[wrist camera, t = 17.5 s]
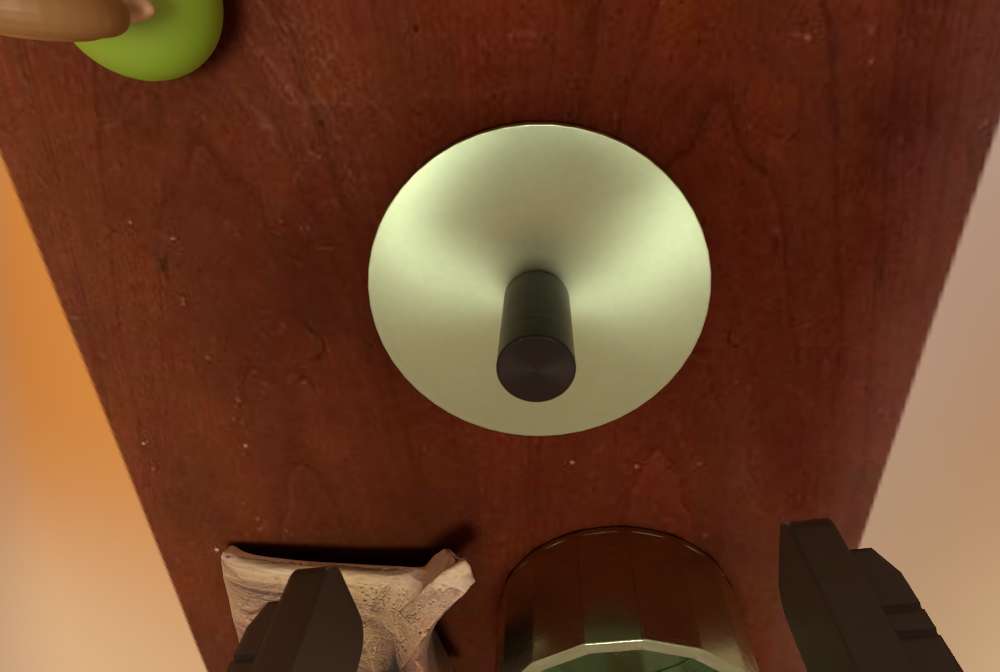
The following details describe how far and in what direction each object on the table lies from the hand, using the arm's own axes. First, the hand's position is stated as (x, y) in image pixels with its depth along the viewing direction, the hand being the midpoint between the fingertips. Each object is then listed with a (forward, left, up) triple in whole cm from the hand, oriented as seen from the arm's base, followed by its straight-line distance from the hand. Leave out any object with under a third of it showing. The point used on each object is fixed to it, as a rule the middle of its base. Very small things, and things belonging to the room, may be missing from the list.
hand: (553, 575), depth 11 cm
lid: (+1, +3, -19) cm, 19 cm away
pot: (0, +26, -19) cm, 32 cm away
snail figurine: (+13, -12, -19) cm, 26 cm away
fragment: (+16, +22, -19) cm, 33 cm away
